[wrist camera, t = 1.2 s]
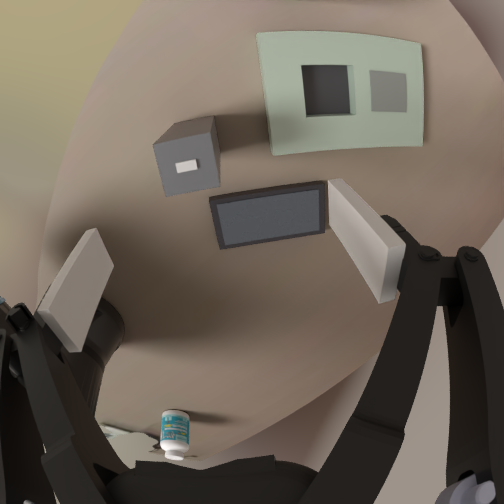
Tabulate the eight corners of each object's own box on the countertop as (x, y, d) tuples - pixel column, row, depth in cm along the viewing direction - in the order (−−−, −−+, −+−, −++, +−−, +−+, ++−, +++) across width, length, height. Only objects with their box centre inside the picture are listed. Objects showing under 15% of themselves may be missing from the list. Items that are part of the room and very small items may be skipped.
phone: (219, 244, 38) (219, 250, 37) (209, 197, 34) (209, 201, 33) (322, 228, 39) (324, 233, 38) (321, 180, 35) (324, 184, 34)
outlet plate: (270, 151, 32) (273, 156, 30) (255, 35, 24) (258, 32, 22) (414, 142, 32) (423, 146, 30) (411, 43, 24) (421, 43, 22)
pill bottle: (190, 410, 66) (190, 456, 55) (188, 420, 70) (188, 462, 58) (161, 407, 64) (159, 453, 53) (162, 417, 68) (160, 459, 57)
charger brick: (182, 160, 32) (165, 197, 22) (174, 123, 29) (152, 145, 20) (220, 152, 32) (220, 187, 22) (213, 115, 29) (210, 133, 20)
